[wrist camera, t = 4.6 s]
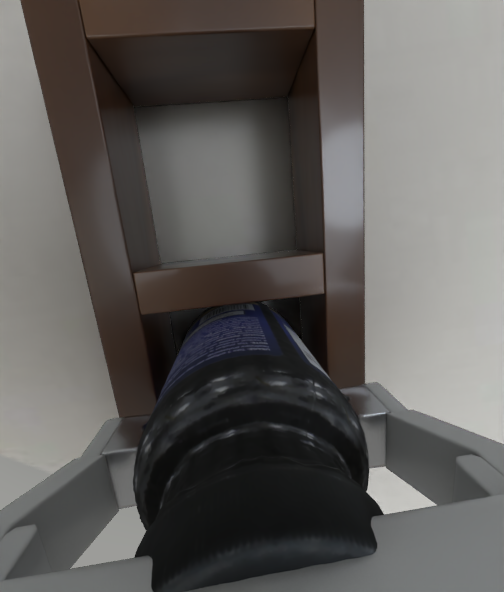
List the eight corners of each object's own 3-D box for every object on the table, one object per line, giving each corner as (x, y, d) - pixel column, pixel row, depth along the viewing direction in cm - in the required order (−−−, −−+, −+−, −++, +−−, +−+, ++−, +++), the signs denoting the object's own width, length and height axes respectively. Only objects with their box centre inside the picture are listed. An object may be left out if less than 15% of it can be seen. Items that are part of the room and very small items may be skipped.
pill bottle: (172, 385, 14) (2, 809, 4) (201, 282, 13) (89, 444, 3) (274, 408, 15) (385, 806, 4) (309, 314, 14) (559, 533, 3)
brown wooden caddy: (163, 439, 15) (140, 508, 11) (89, 68, 11) (12, -27, 7) (331, 414, 16) (365, 472, 12) (319, 55, 12) (364, -38, 8)
